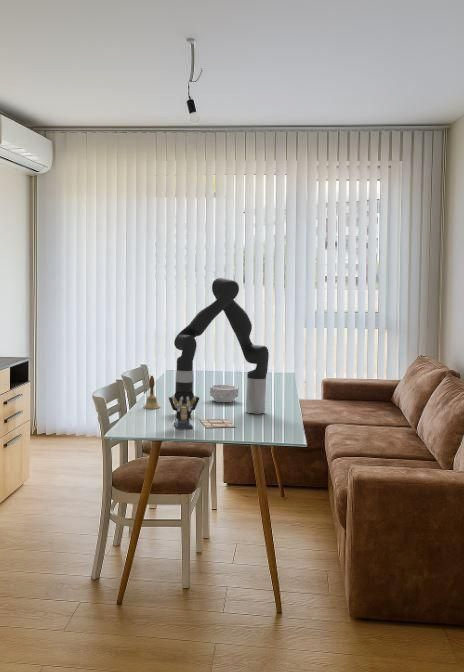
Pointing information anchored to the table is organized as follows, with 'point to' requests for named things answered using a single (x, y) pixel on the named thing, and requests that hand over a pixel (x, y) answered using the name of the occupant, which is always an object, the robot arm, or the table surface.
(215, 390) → the stone bowl
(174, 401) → the flower pot
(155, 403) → the hand bell
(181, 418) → the stamp
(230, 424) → the sheet
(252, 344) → the robot arm
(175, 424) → the ink pad
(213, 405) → the table surface
